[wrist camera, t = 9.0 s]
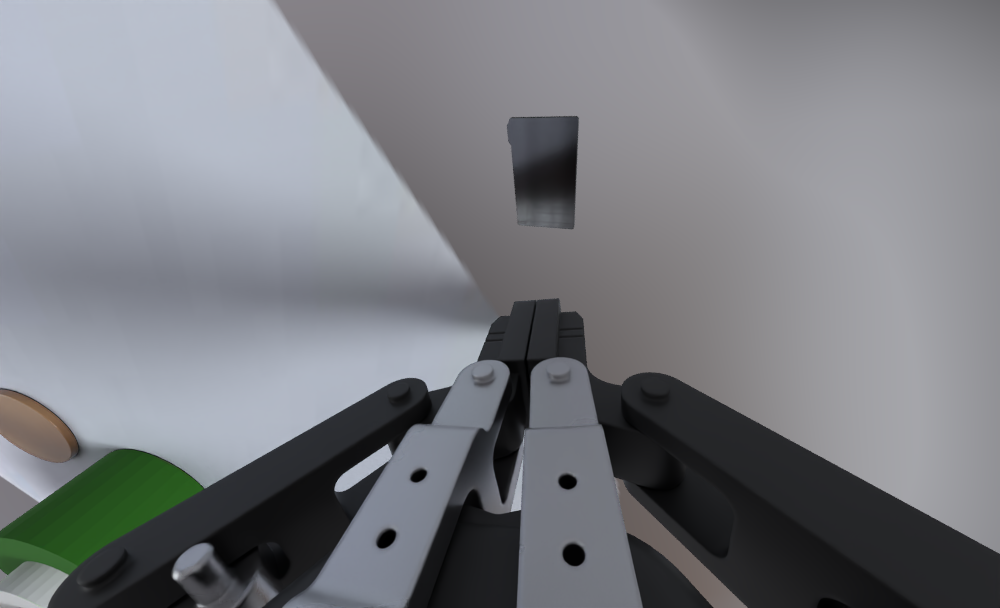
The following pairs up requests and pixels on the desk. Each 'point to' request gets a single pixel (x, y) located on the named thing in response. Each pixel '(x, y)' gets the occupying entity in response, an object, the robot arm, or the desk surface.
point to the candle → (85, 522)
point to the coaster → (35, 428)
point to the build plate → (544, 169)
